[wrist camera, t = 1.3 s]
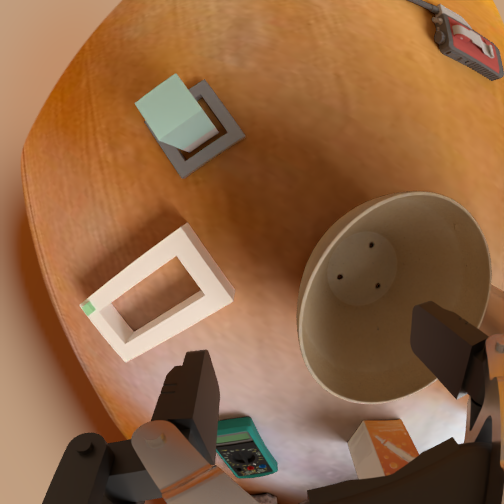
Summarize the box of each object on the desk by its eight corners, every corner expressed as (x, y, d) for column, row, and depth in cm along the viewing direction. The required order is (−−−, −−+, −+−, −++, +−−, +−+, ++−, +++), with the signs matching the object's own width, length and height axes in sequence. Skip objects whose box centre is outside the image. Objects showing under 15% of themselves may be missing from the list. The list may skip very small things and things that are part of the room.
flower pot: (442, 212, 29) (512, 232, 17) (394, 345, 33) (436, 402, 21) (306, 163, 28) (343, 154, 16) (263, 324, 32) (268, 396, 20)
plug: (200, 106, 26) (175, 73, 16) (219, 132, 27) (202, 109, 17) (171, 126, 27) (134, 103, 17) (189, 152, 27) (158, 140, 18)
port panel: (187, 222, 29) (179, 228, 26) (235, 289, 31) (233, 303, 27) (90, 295, 31) (76, 307, 28) (133, 349, 33) (123, 365, 30)
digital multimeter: (238, 469, 40) (237, 482, 37) (201, 421, 37) (198, 435, 34) (278, 462, 40) (279, 475, 37) (250, 412, 36) (249, 427, 33)
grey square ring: (206, 82, 25) (204, 79, 24) (245, 137, 27) (245, 135, 26) (148, 123, 26) (144, 121, 25) (184, 178, 28) (181, 178, 27)
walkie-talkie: (488, 42, 22) (383, -11, 21) (504, 35, 18) (395, -27, 17) (496, 87, 24) (389, 34, 24) (515, 82, 20) (405, 20, 19)
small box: (401, 418, 37) (429, 472, 24) (383, 441, 39) (405, 494, 26) (362, 419, 37) (387, 481, 24) (345, 442, 38) (363, 502, 25)
